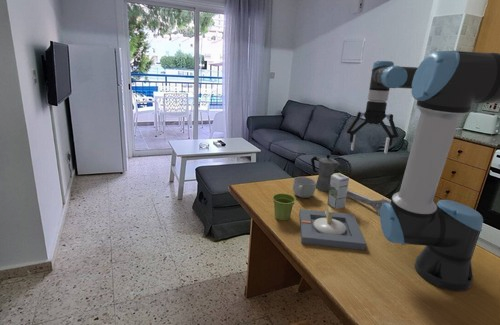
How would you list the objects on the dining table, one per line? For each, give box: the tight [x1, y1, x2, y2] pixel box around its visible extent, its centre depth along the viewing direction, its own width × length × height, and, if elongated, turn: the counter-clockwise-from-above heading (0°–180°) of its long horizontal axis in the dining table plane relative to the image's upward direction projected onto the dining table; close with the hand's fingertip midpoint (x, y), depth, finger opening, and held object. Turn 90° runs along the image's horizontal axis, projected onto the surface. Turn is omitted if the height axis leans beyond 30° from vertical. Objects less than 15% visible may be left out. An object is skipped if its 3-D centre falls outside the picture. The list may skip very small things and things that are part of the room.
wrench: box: [346, 189, 391, 216], centre depth 138 cm, size 8×2×30 cm
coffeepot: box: [310, 154, 341, 192], centre depth 155 cm, size 15×9×18 cm, turn 55°
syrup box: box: [327, 173, 350, 210], centre depth 135 cm, size 6×6×14 cm
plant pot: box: [272, 192, 297, 221], centre depth 123 cm, size 9×9×9 cm
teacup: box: [292, 176, 317, 199], centre depth 144 cm, size 14×11×8 cm
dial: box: [314, 205, 346, 235], centre depth 115 cm, size 12×12×6 cm
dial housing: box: [298, 208, 367, 251], centre depth 116 cm, size 22×22×3 cm
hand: (368, 151), depth 129 cm, fingers open, 13 cm apart
